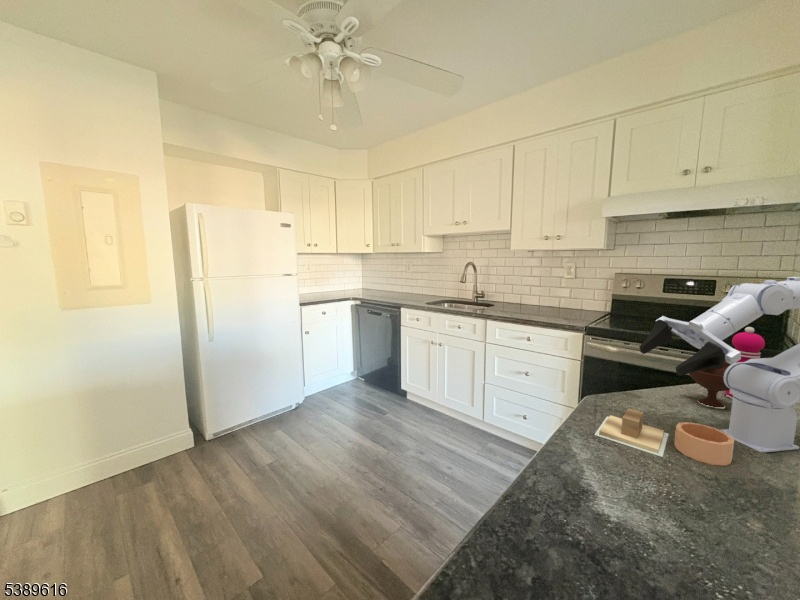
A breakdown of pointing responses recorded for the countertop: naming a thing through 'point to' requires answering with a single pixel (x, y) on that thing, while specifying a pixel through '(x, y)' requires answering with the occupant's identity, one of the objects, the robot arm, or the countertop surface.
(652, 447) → the lid
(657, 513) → the countertop surface
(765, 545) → the countertop surface
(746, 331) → the pepper mill
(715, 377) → the ice cream bowl
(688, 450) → the bowl
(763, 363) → the robot arm
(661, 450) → the mat
